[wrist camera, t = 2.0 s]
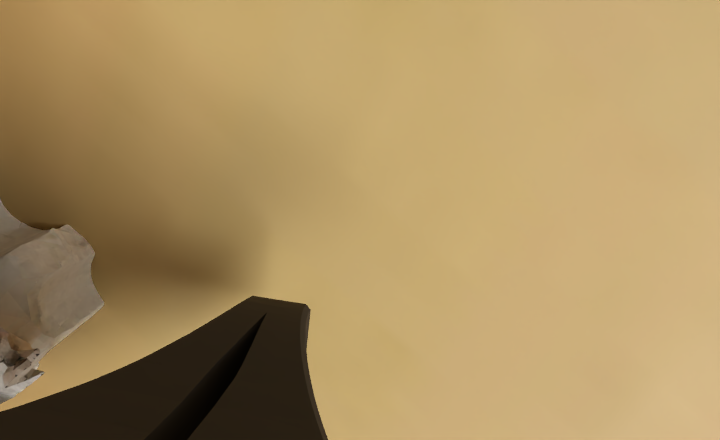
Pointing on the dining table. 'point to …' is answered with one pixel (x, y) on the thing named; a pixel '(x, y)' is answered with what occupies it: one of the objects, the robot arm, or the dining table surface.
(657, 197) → the dining table surface
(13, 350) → the egg carton
